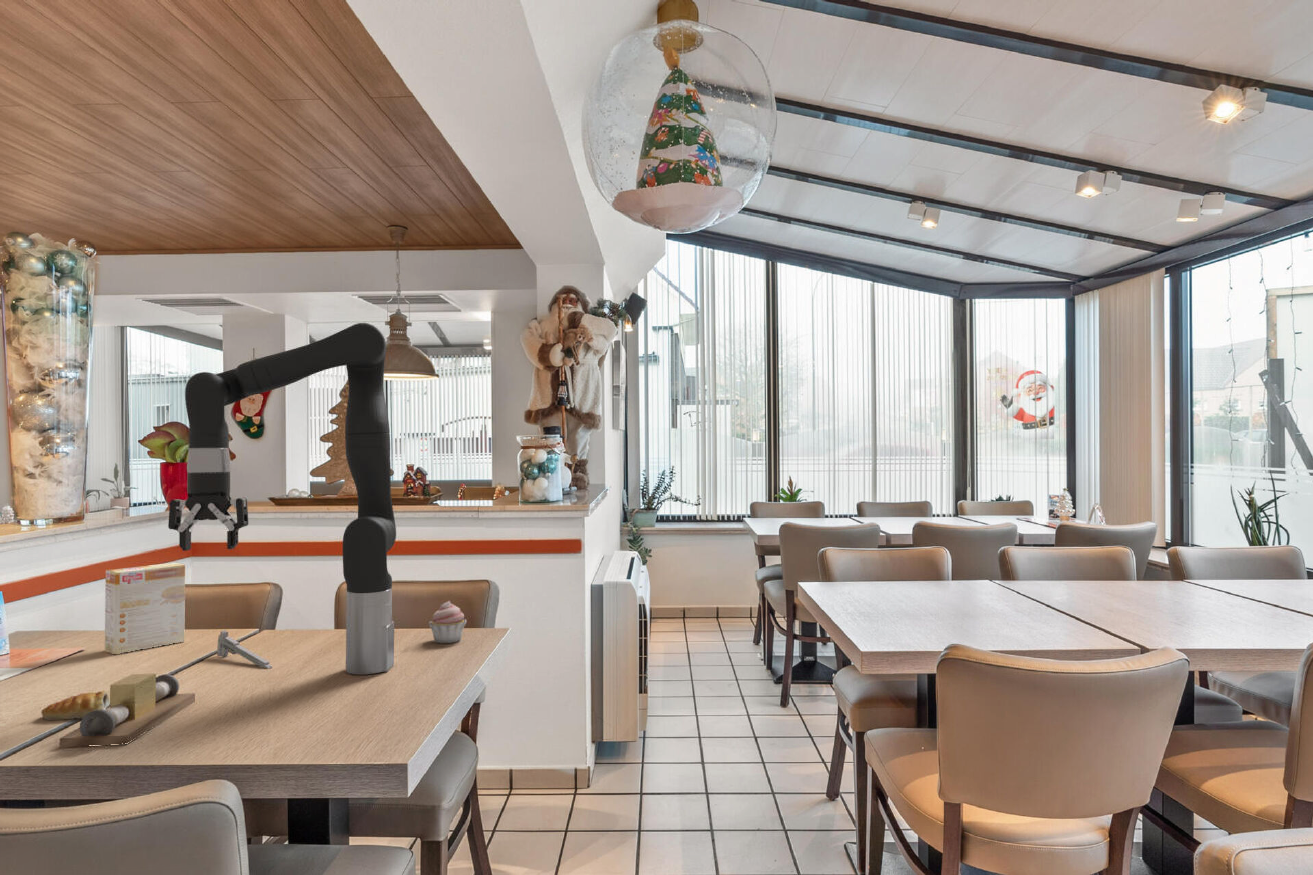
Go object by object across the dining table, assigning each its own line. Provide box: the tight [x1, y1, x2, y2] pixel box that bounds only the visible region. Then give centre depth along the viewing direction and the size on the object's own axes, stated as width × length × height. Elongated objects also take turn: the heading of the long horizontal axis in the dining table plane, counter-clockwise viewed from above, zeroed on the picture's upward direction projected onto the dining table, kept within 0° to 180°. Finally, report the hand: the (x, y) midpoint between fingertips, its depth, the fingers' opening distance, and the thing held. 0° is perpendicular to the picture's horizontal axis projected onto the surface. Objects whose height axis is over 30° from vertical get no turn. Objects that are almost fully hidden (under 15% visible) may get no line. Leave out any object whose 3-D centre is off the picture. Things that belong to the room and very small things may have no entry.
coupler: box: [109, 673, 157, 720], centre depth 126 cm, size 4×6×6 cm, turn 6°
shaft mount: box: [59, 673, 196, 749], centre depth 126 cm, size 10×21×5 cm, turn 7°
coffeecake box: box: [104, 562, 186, 655], centre depth 178 cm, size 15×7×20 cm, turn 144°
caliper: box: [216, 629, 273, 670], centre depth 164 cm, size 20×1×6 cm, turn 59°
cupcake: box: [428, 600, 467, 644], centre depth 182 cm, size 9×9×10 cm
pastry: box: [40, 690, 110, 721], centre depth 130 cm, size 9×7×4 cm
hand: (208, 549), depth 148 cm, fingers open, 8 cm apart
